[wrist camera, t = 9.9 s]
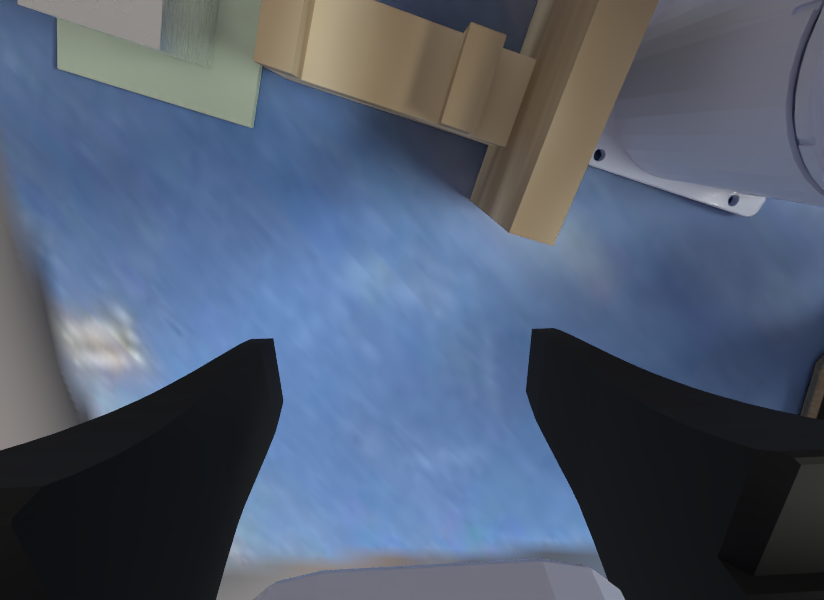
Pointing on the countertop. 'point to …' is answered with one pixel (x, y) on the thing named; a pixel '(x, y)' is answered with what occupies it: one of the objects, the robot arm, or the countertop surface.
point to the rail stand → (475, 86)
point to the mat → (176, 65)
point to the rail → (145, 23)
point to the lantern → (815, 393)
